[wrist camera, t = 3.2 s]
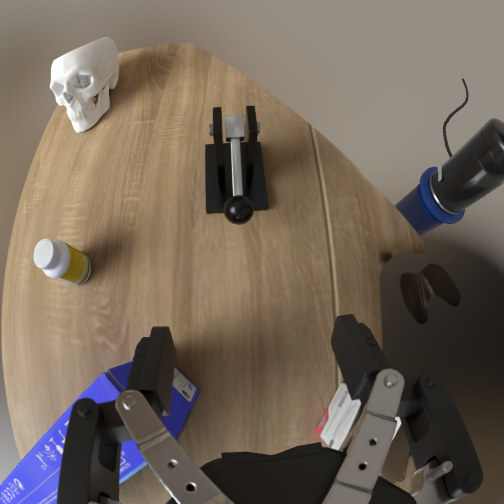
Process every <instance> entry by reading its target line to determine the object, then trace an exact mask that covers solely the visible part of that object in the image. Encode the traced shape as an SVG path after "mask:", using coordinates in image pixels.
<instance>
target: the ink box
mask: <svg viewBox="0 0 504 504" xmlns="http://www.w3.org/2000/svg"><path fill="white" fill-rule="evenodd" d="M360 404H361V402H360V400H359V399H357V400H353V401H352V400H351V397H350V395H349V392H348V389H347V386H346V384H345V383H340V385H339V387H338V389H337V391H336V393H335V395H334V397H333V399H332V401H331V403H330V405H329V407H328V409H327V411H326V412H325V414H324V416H323V418H322V420H321V422H320V423H319V425H318V427H317V429H316V432H317V433H318V435H319V436H320V437H321V438H322V439H323V440H324V441H325V442H326V443H327V445H328V446H329V447H330V448H333V449H336V450H339V448H340V446H341V445H342V443H343V441H344V439H345V438H346V436H347V434H348V432H349V429H350V427H351V425H352V423H353V420H354V418H355V416H356V413H357V411H358V409H359V406H360ZM395 420H397V426H396V429H395V433H394V436H395V434H396V432H397V431H398V429H399V427H400V425H401V421H400V418H399V417H395ZM394 436H393V438H394ZM392 440H393V439H392Z"/></svg>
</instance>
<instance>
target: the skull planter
mask: <svg viewBox="0 0 504 504" xmlns="http://www.w3.org/2000/svg"><path fill="white" fill-rule="evenodd" d="M118 78H119V56H118V50H117V47H116V44H115V43H114V41H113V40H112V39H110V38H109V37H104V38H101V39H98V40H96V41H93V42H91V43H88V44H86V45H84V46H82V47H79V48H77V49H75V50H73V51H71V52H69V53H67V54H65V55H63V56H61V57H59V58H57V59H55V60H54V62H53V64H52V68H51V84H50V89H52V90H53V92H54V94H55V97H56V102H57V103H58V104H59V105H60V106H62V105H65V106H66V107H67V114H68V116H69V118H70V120H72V125H73V127H74V129H75V130H76V131H77V132H78V133H80V132H84V131H86V130H87V129H89V128H91V127H92V126H93V125H95V124H96V123H97V122H98V120H99V119H100V117H101V116H102V115H103V114H104V113H105V112H106V111H108V109H109V107H110V99H109V88H110V89H114V88H115V86H116V84H117V82H118ZM103 88H104V90H103ZM96 94H99V97H98V100H97V103H96V104H95V105H94V102H93V99H92V97H94V96H96Z"/></svg>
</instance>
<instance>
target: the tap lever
mask: <svg viewBox="0 0 504 504" xmlns="http://www.w3.org/2000/svg"><path fill="white" fill-rule="evenodd" d="M225 129H226V142H231V160H232V180H233V196H231V197H230V198H229V199H228V200H227V201H226V202H225V205H224V215H225V217H226V218H227V220H228V221H230V222H231V223H233V224H237V225H241V224H245V223H247V222H248V221H249V220H250V219H251V218H252V216H253V213H254V206H253V203H252V201H251V200H250V199H249V198H248V197H246V196H244V195H243V188H242V170H241V151H240V141H244V138H245V130H244V115H227V116H225Z"/></svg>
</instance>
